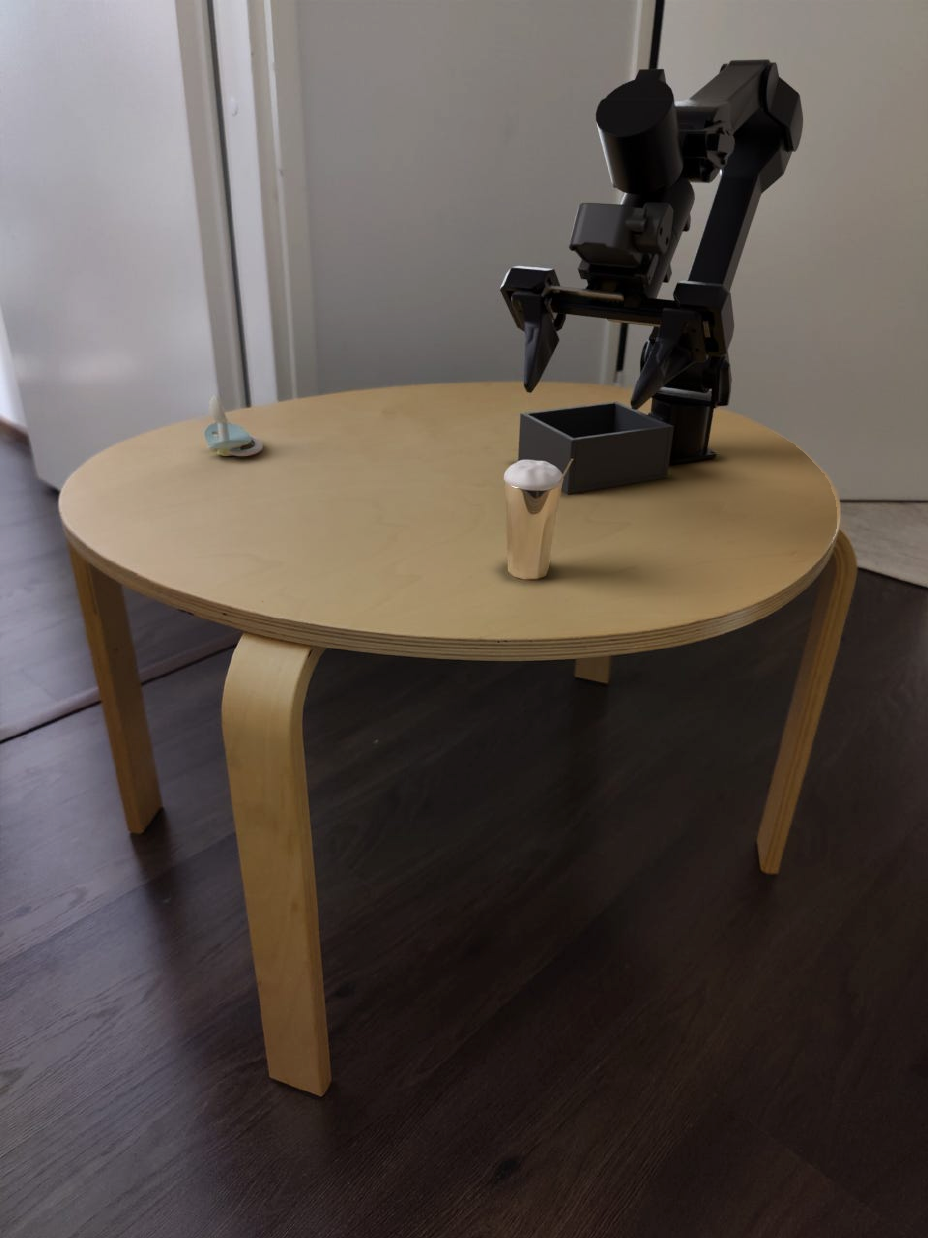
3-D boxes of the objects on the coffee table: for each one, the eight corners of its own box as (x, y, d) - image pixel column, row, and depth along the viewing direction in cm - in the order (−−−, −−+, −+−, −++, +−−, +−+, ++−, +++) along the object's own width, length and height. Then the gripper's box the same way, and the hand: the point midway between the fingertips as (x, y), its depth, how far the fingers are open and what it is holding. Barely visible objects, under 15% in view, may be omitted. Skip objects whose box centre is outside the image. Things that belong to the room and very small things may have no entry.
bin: (611, 449, 98) (616, 401, 95) (667, 477, 90) (674, 426, 87) (517, 463, 93) (520, 412, 91) (567, 494, 85) (571, 440, 83)
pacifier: (258, 440, 99) (204, 443, 97) (254, 385, 96) (198, 387, 94) (267, 460, 93) (210, 463, 91) (263, 402, 90) (204, 404, 88)
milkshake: (549, 591, 67) (558, 468, 62) (489, 574, 69) (493, 454, 64) (574, 570, 70) (584, 451, 65) (517, 554, 73) (522, 439, 68)
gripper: (515, 156, 69) (441, 321, 66) (751, 163, 61) (679, 351, 57) (551, 254, 78) (488, 401, 75) (758, 271, 70) (697, 437, 67)
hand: (578, 398), depth 69 cm, fingers open, 9 cm apart
